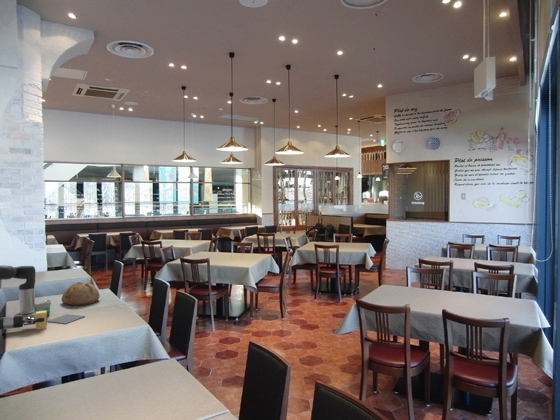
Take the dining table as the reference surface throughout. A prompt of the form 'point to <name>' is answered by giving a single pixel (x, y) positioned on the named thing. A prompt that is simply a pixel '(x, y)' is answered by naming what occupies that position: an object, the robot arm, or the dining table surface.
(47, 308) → the food container
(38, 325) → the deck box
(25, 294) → the robot arm
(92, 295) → the bread
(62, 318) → the mat
